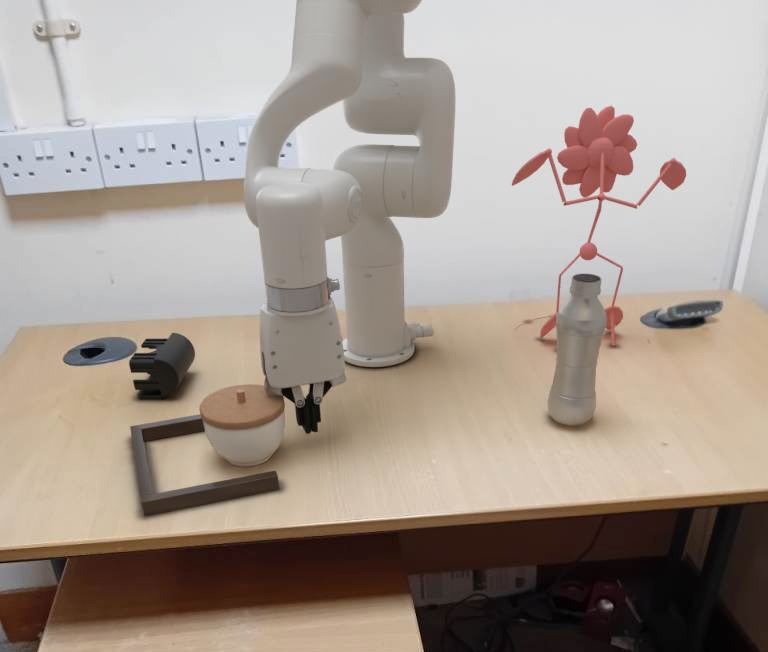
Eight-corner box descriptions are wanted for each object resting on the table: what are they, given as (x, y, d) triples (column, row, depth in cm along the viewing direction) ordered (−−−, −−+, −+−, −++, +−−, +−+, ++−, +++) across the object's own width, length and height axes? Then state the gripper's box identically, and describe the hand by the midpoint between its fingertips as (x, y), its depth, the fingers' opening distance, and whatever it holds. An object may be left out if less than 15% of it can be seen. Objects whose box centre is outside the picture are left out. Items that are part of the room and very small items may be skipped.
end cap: (182, 400, 118) (174, 358, 114) (136, 400, 119) (126, 358, 115) (199, 371, 126) (191, 331, 122) (155, 372, 127) (147, 332, 123)
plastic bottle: (566, 435, 107) (583, 291, 95) (536, 415, 112) (549, 275, 100) (603, 424, 109) (625, 281, 97) (572, 404, 114) (589, 266, 102)
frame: (250, 418, 113) (248, 405, 112) (279, 489, 98) (277, 475, 97) (133, 438, 109) (129, 426, 108) (144, 516, 94) (140, 502, 93)
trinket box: (212, 437, 109) (201, 375, 103) (290, 432, 109) (283, 369, 104) (205, 479, 100) (192, 413, 95) (289, 473, 101) (282, 407, 95)
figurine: (664, 344, 130) (709, 109, 110) (513, 357, 128) (530, 119, 107) (627, 310, 143) (662, 93, 123) (489, 322, 140) (500, 102, 120)
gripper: (347, 276, 100) (354, 406, 110) (230, 292, 96) (248, 425, 106) (366, 295, 94) (371, 430, 104) (241, 313, 90) (260, 452, 101)
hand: (309, 428), depth 105 cm, fingers closed
